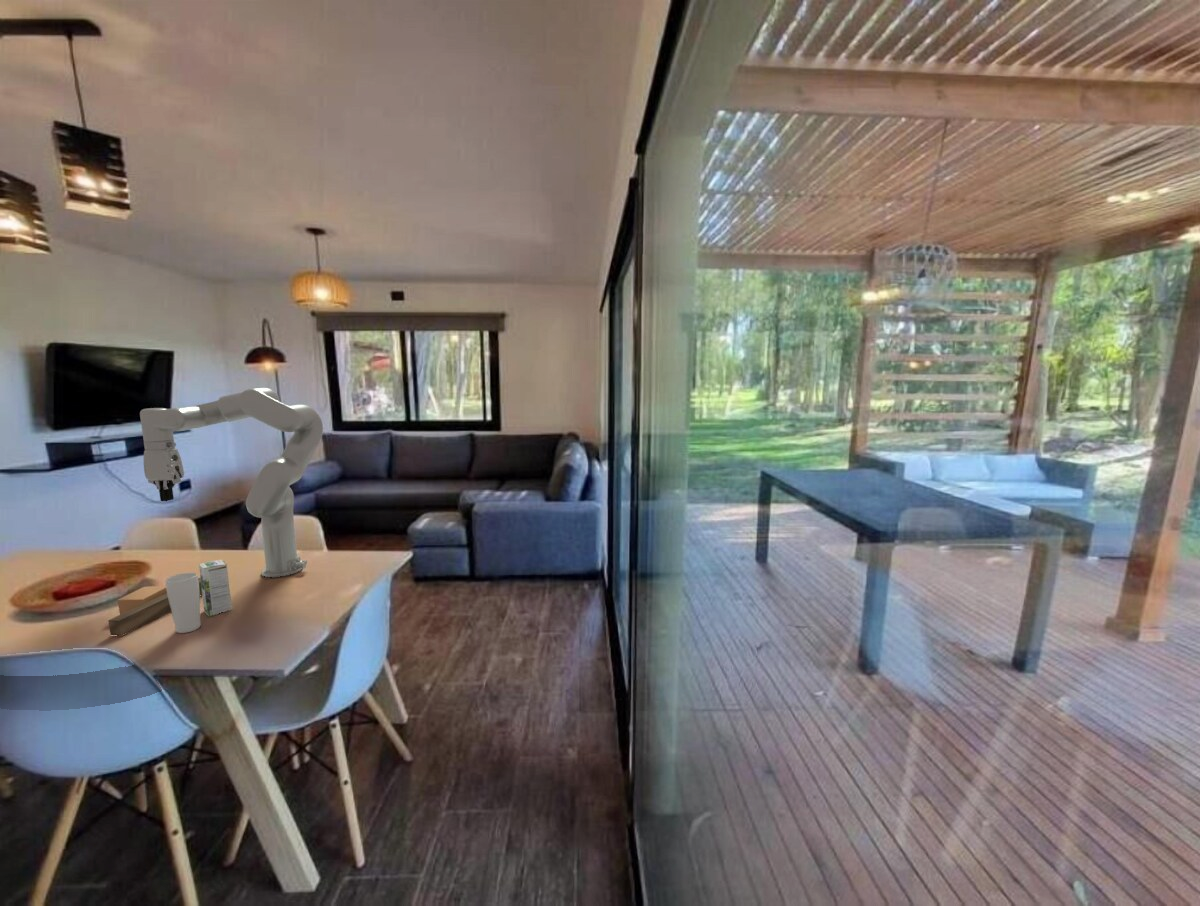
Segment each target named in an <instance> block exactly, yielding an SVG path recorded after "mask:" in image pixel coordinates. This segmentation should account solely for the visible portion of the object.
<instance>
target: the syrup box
mask: <svg viewBox="0 0 1200 906" xmlns="http://www.w3.org/2000/svg"><path fill="white" fill-rule="evenodd" d="M198 566H199V573H200V574H199V575H200V577H199V578H201V587H202V596H201V597H202V603H203V604H202V605H203V611H204V613H205V614H206V616H207V617H212V616H211V615H213V616H215V614H216V615H218V614H219V613H220V614H222V613H221V612H223V613H225V612H224V611H226V612H228V611H227V610H229V611H232V610H231V609H232V601H231V600H232V599H231V590H230V583H229V582H230V581H229V572H228V564H227V563H226V562H225V561H224V560H223V559H217V560H216V559H215V560H211V561H206V562H203V563H199V565H198ZM220 614H219V615H220Z"/></svg>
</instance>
